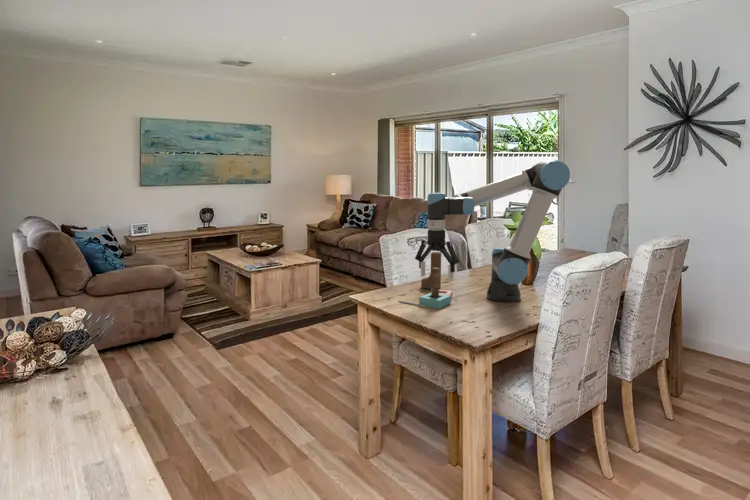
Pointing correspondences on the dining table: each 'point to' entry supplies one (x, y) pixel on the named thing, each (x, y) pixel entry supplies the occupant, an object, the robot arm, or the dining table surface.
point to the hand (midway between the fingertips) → (436, 277)
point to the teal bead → (435, 300)
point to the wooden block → (434, 264)
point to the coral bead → (445, 292)
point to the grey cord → (412, 303)
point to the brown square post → (435, 283)
